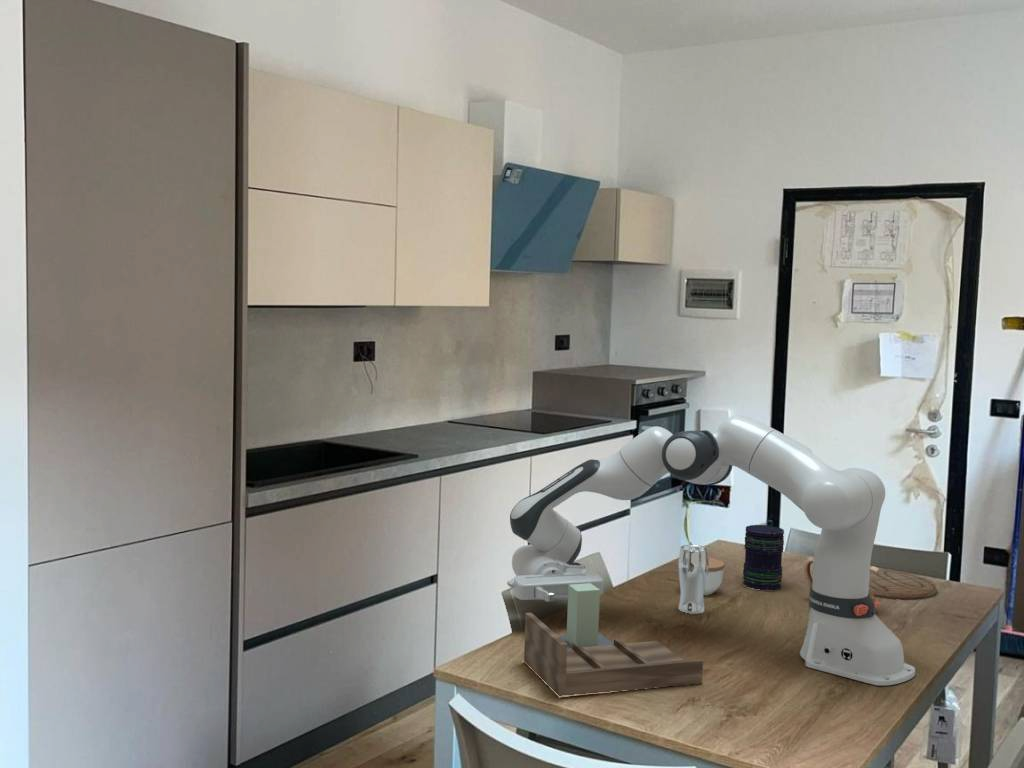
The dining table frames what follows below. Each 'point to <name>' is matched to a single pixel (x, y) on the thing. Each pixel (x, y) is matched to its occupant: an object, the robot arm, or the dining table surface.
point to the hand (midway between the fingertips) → (571, 596)
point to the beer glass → (692, 577)
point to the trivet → (900, 585)
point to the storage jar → (763, 557)
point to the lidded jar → (714, 576)
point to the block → (583, 614)
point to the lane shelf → (604, 663)
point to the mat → (601, 640)
